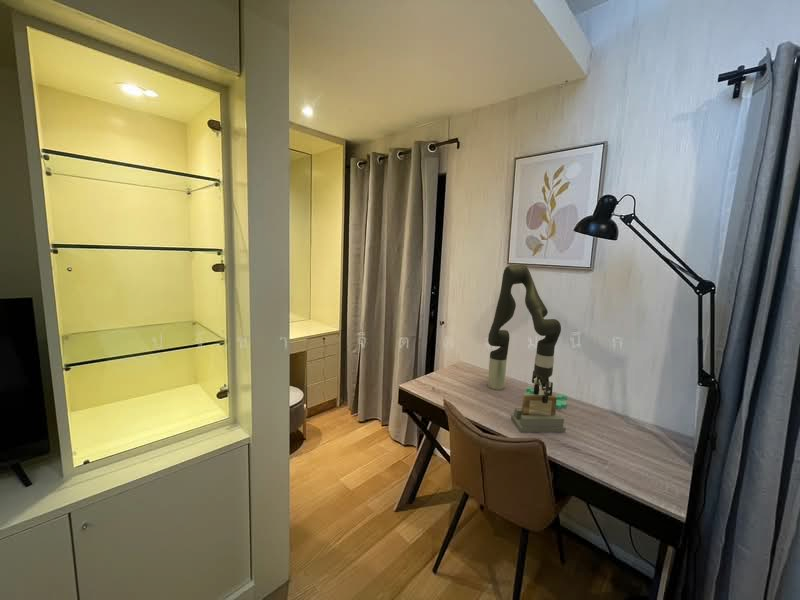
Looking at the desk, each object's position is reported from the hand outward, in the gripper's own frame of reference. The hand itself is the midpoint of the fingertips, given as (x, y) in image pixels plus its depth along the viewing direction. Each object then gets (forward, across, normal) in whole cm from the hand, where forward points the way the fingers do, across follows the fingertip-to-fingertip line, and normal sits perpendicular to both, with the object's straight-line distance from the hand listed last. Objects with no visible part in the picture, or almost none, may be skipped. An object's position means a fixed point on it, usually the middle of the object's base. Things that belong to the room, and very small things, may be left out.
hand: (540, 398), depth 151 cm
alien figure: (+14, -24, +15) cm, 31 cm away
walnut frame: (+11, 0, 0) cm, 11 cm away
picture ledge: (+13, 0, 0) cm, 13 cm away
